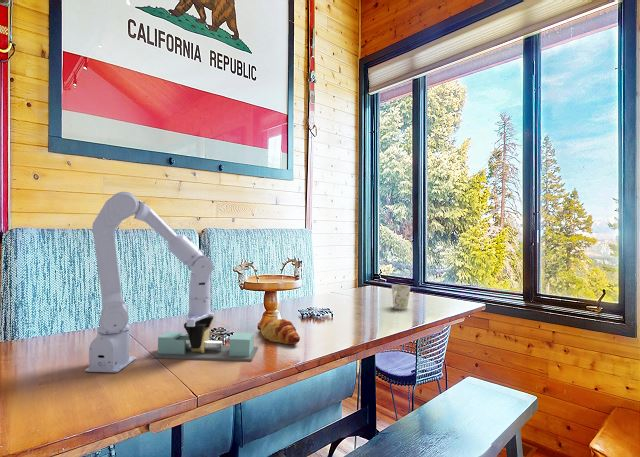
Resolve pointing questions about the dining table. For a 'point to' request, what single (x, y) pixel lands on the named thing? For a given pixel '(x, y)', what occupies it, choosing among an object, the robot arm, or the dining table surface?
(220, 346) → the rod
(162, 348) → the guide
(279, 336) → the croissant
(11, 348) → the dining table surface
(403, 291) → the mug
